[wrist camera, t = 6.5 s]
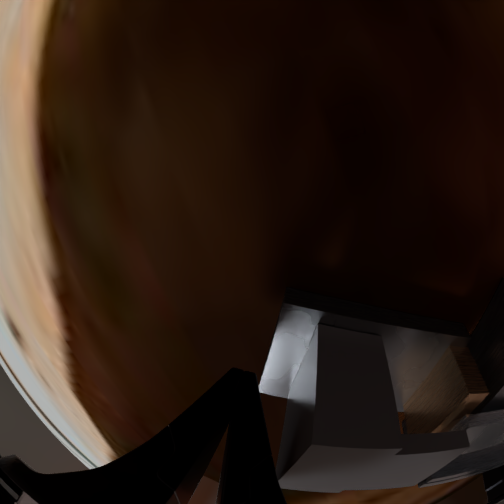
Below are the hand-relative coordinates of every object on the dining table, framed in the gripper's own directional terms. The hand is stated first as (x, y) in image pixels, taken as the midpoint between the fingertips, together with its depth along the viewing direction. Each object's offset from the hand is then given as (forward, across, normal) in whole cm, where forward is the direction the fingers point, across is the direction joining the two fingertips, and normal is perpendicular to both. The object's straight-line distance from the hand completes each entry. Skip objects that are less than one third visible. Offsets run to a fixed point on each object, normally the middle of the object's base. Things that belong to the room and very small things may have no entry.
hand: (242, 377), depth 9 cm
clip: (+1, -5, 0) cm, 5 cm away
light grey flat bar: (-1, -15, 0) cm, 15 cm away
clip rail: (+2, -5, 0) cm, 5 cm away
